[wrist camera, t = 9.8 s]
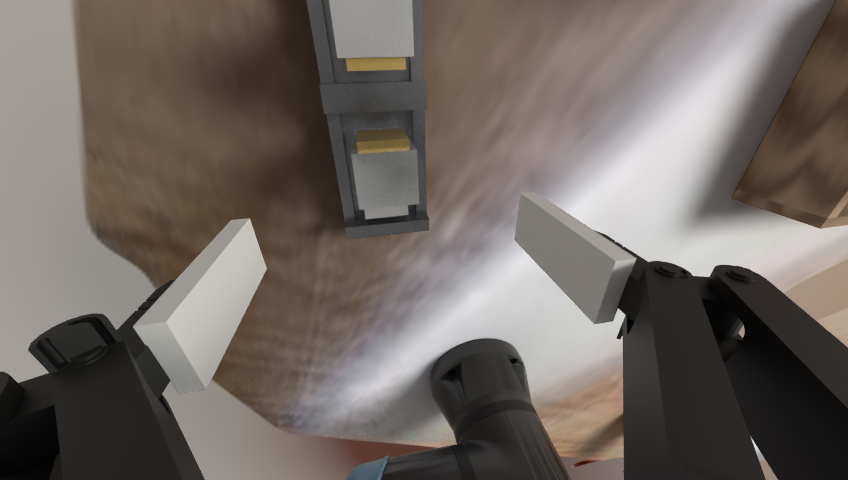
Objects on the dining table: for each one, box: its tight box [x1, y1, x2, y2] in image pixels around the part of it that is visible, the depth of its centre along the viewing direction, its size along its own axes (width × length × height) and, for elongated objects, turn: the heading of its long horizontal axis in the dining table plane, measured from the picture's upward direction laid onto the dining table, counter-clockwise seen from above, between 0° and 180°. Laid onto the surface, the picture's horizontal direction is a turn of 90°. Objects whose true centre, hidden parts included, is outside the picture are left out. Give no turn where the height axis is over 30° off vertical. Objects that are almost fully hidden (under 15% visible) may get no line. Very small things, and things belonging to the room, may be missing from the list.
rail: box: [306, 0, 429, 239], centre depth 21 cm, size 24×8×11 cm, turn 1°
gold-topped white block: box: [351, 127, 419, 219], centre depth 24 cm, size 8×4×9 cm, turn 2°
